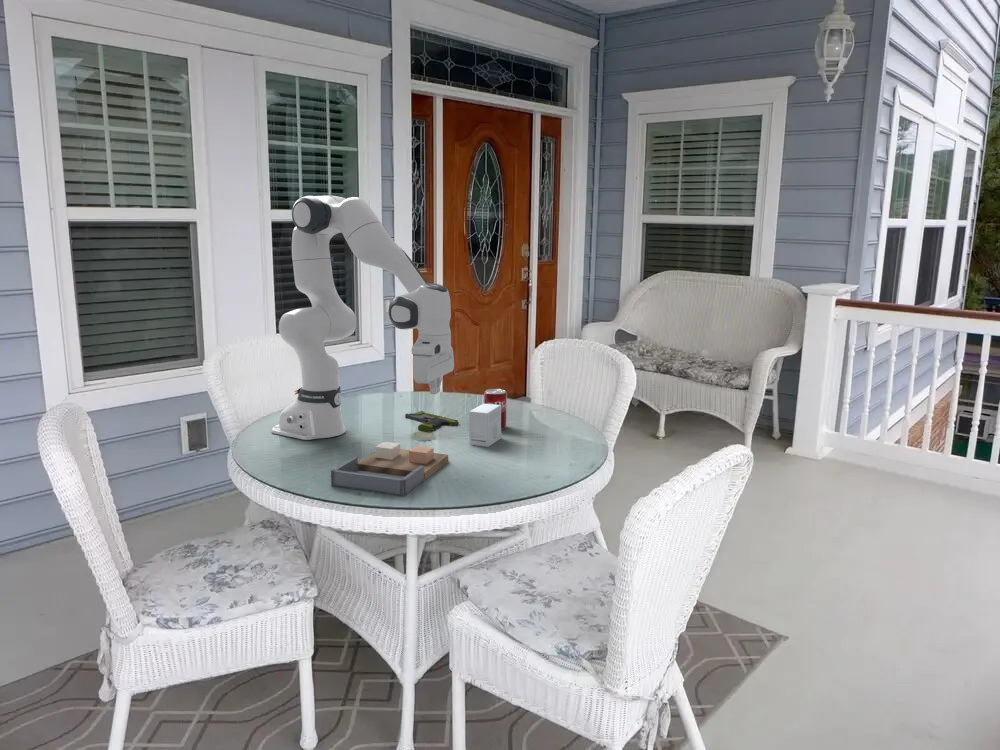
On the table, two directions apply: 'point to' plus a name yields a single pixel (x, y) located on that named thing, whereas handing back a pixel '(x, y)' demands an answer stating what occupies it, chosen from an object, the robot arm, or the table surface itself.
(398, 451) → the cream tile
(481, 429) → the skincare box
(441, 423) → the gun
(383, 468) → the walnut board
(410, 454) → the terracotta tile
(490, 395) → the soda can
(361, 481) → the bin
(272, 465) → the table surface
